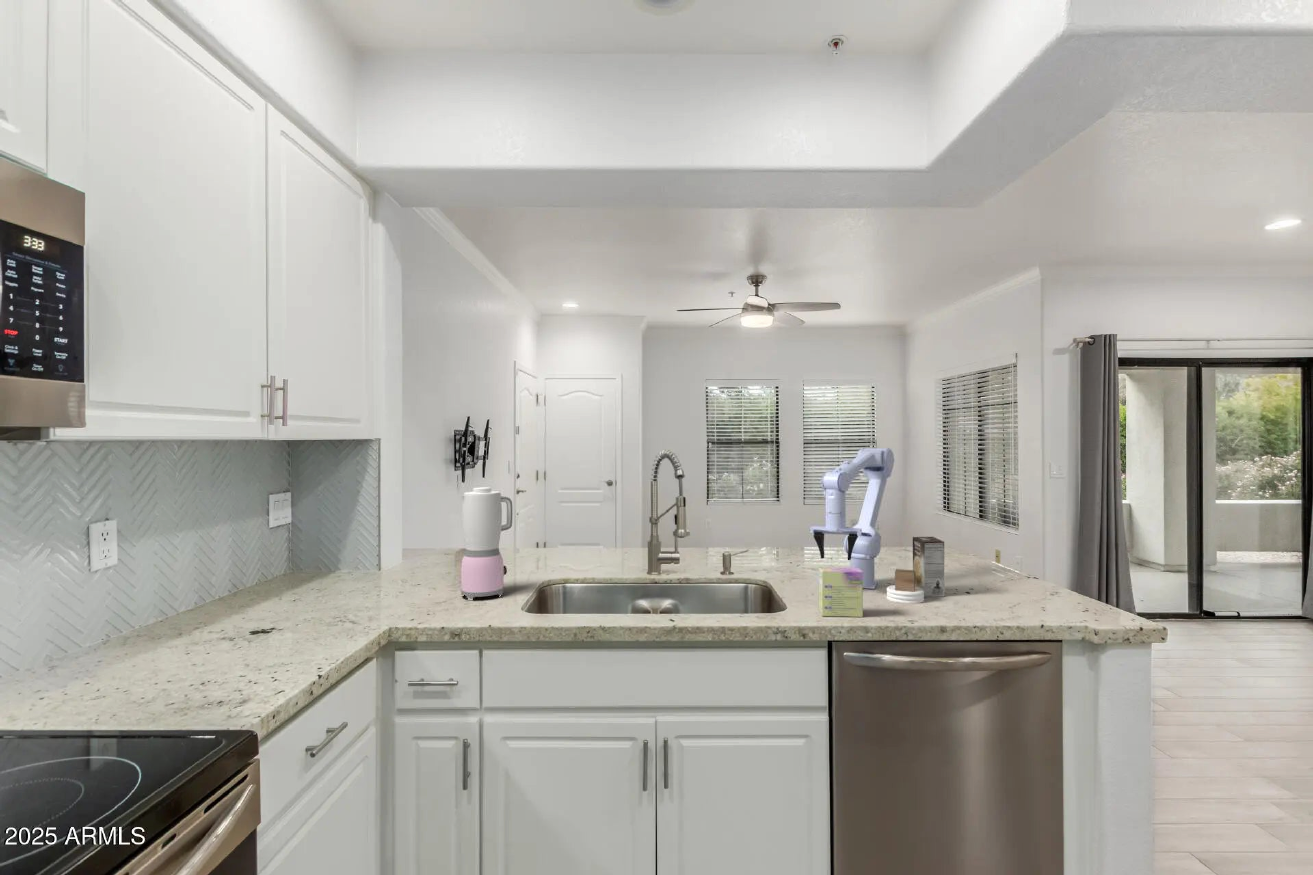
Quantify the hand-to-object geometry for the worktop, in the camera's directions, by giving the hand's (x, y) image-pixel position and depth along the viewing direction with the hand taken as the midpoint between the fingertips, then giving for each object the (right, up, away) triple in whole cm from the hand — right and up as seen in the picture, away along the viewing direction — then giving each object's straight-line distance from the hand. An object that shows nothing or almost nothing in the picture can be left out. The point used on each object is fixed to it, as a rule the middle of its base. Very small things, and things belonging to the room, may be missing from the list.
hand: (835, 558), depth 194 cm
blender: (-103, -12, +2) cm, 104 cm away
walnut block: (+18, -7, -7) cm, 20 cm away
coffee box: (+27, -10, +1) cm, 29 cm away
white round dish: (+18, -11, -7) cm, 22 cm away
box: (-5, -11, -22) cm, 25 cm away
